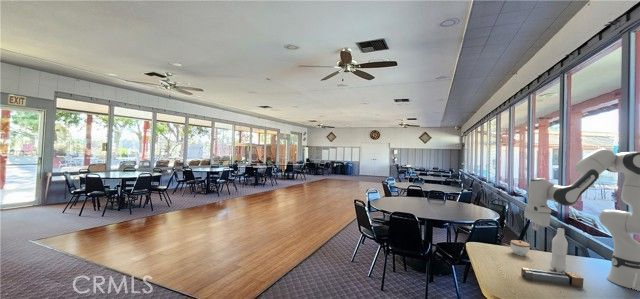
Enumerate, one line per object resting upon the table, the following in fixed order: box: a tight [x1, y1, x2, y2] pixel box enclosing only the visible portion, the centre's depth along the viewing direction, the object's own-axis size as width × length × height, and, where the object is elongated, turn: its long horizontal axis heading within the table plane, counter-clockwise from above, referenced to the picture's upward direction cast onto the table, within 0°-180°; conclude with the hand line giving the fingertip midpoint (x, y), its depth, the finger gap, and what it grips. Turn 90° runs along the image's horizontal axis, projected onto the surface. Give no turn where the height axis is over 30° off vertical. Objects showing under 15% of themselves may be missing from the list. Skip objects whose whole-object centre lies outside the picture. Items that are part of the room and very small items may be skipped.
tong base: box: [523, 270, 585, 289], centre depth 154 cm, size 26×7×5 cm, turn 78°
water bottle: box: [550, 227, 569, 273], centre depth 168 cm, size 7×7×25 cm
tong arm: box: [521, 267, 567, 278], centre depth 156 cm, size 21×3×4 cm, turn 78°
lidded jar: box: [510, 239, 531, 257], centre depth 192 cm, size 11×11×9 cm
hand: (535, 229), depth 165 cm, fingers closed
